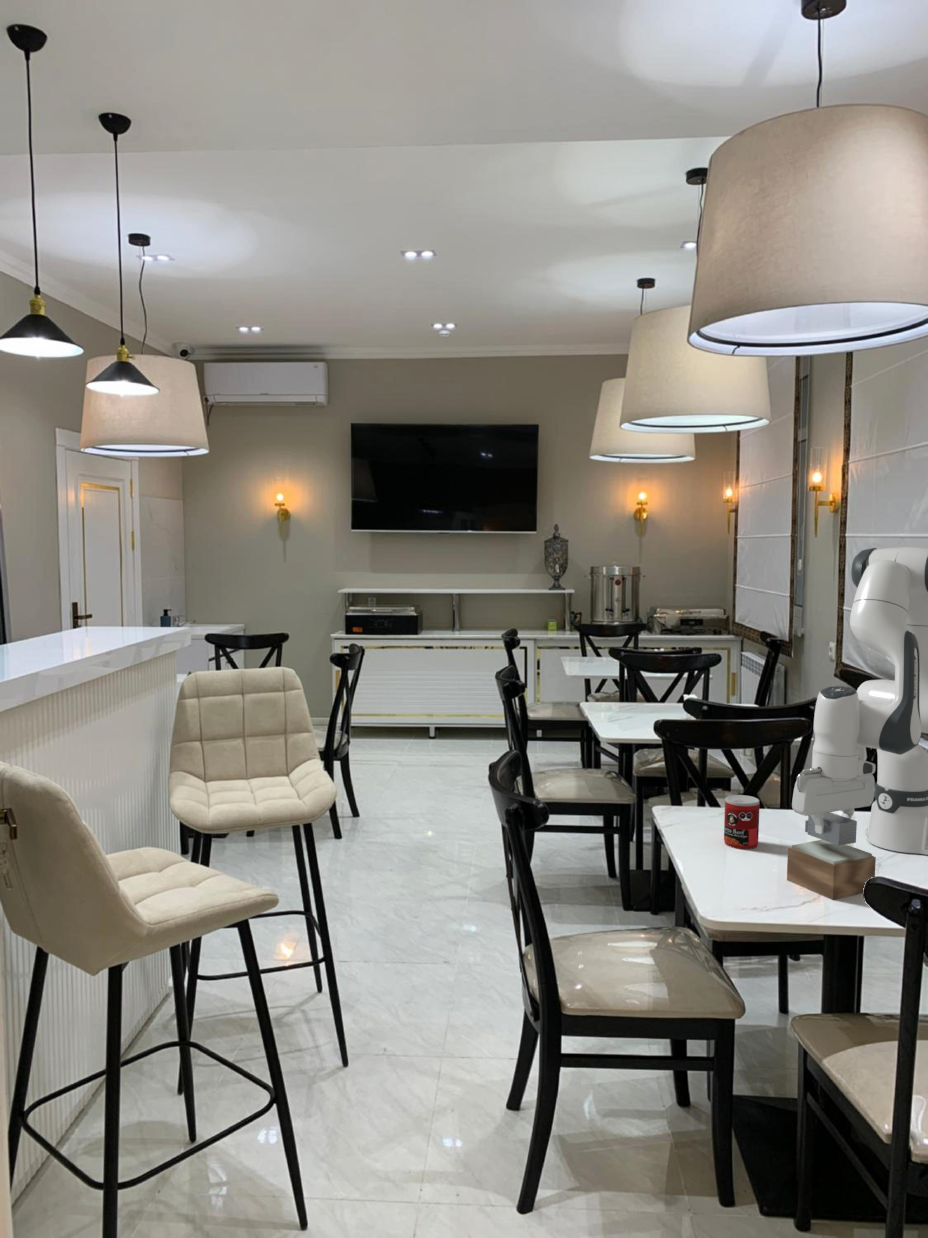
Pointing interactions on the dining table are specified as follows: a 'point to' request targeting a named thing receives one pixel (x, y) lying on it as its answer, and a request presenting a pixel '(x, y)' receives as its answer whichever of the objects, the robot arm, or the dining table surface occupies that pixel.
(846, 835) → the block
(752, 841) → the canned food
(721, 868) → the dining table surface
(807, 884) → the stand
